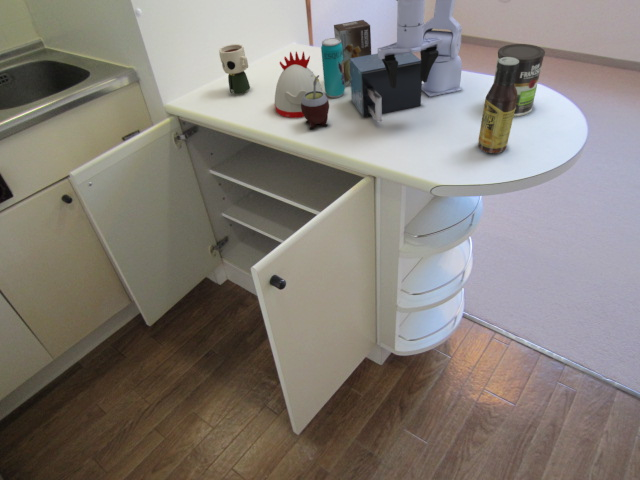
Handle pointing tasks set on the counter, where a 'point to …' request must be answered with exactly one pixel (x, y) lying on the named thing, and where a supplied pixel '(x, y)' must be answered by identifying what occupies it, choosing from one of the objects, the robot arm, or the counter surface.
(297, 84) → the white chicken figure
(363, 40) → the coffee box
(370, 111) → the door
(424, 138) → the counter surface
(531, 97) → the coffee can
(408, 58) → the blue-gray cabinet body
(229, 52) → the character mug
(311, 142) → the counter surface
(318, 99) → the mate gourd
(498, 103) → the sauce bottle
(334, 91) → the beverage can
